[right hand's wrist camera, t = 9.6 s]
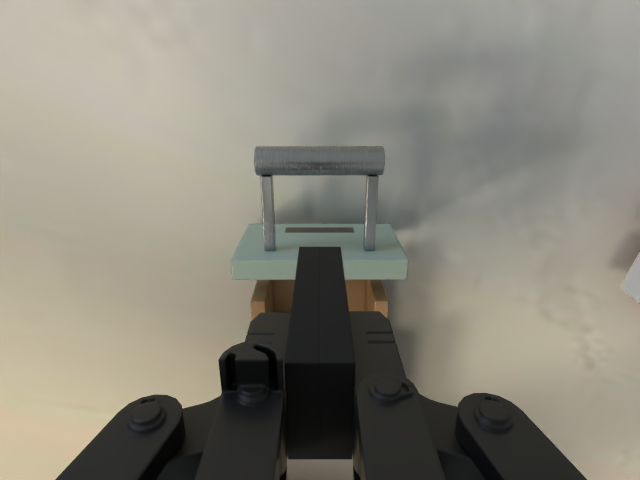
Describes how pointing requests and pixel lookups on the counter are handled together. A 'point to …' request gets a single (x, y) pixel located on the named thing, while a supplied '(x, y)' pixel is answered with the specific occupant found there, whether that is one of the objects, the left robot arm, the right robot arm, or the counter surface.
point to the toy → (632, 281)
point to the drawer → (319, 232)
